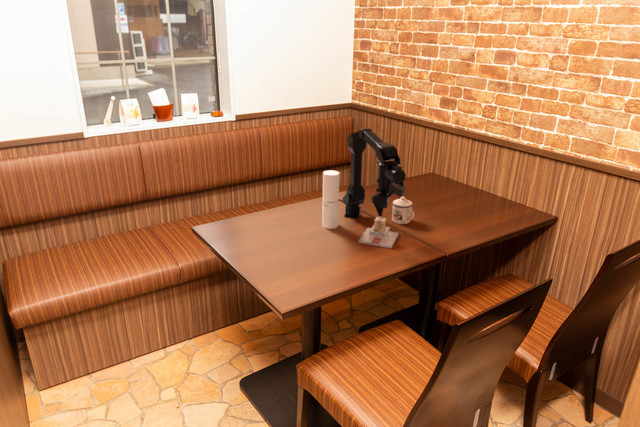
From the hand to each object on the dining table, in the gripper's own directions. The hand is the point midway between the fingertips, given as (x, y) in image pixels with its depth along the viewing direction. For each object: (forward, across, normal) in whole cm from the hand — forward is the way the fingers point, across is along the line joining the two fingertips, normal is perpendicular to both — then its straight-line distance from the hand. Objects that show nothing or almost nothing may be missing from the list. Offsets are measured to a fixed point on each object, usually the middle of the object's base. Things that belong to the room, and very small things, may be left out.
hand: (382, 211), depth 194 cm
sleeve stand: (+12, -1, +1) cm, 12 cm away
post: (+11, -1, +1) cm, 11 cm away
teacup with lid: (+12, +21, -6) cm, 25 cm away
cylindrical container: (+12, +5, +25) cm, 28 cm away
